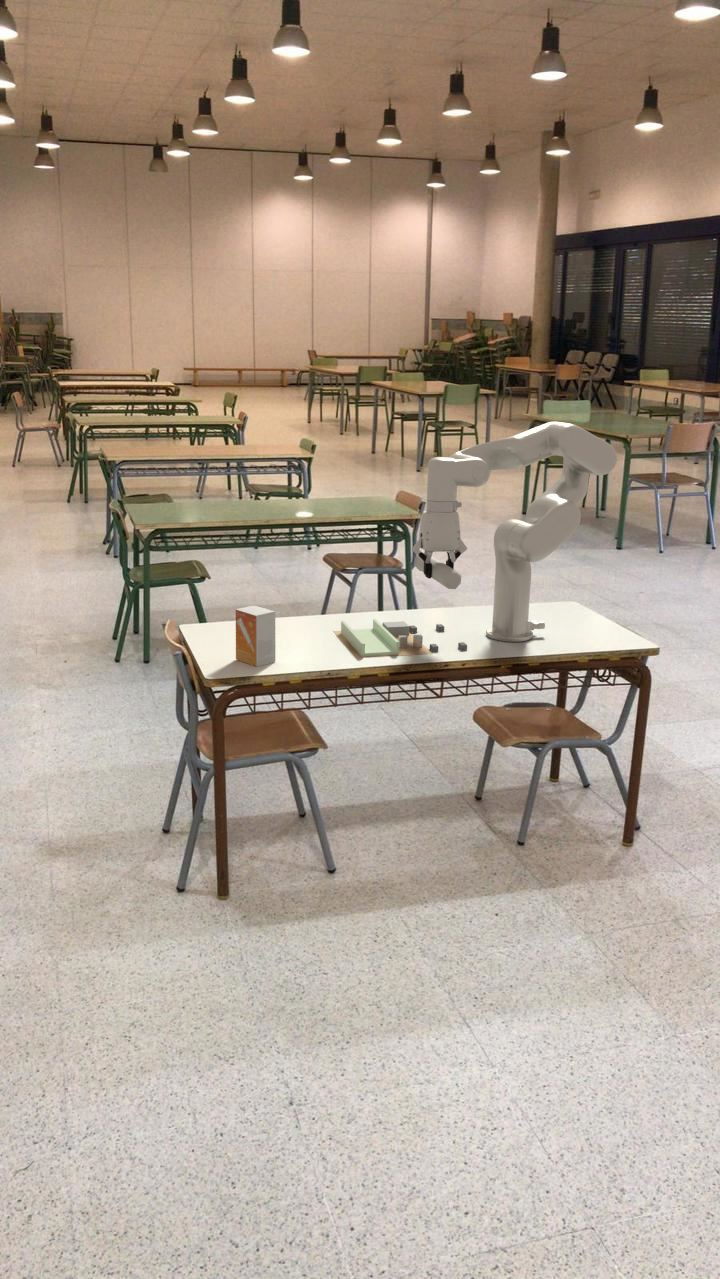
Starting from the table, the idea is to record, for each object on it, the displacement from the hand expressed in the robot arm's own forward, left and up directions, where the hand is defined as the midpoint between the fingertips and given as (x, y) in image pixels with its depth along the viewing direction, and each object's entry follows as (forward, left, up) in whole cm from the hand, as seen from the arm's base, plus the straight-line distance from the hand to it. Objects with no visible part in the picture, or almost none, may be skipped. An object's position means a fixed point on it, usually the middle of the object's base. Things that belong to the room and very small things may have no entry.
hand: (438, 576), depth 280 cm
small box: (+49, +6, -18) cm, 52 cm away
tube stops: (0, 0, -18) cm, 18 cm away
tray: (+18, 0, -17) cm, 25 cm away
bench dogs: (+9, +5, -17) cm, 20 cm away
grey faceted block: (+9, -8, -17) cm, 21 cm away
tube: (0, 0, -1) cm, 1 cm away
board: (+15, -1, -18) cm, 23 cm away
